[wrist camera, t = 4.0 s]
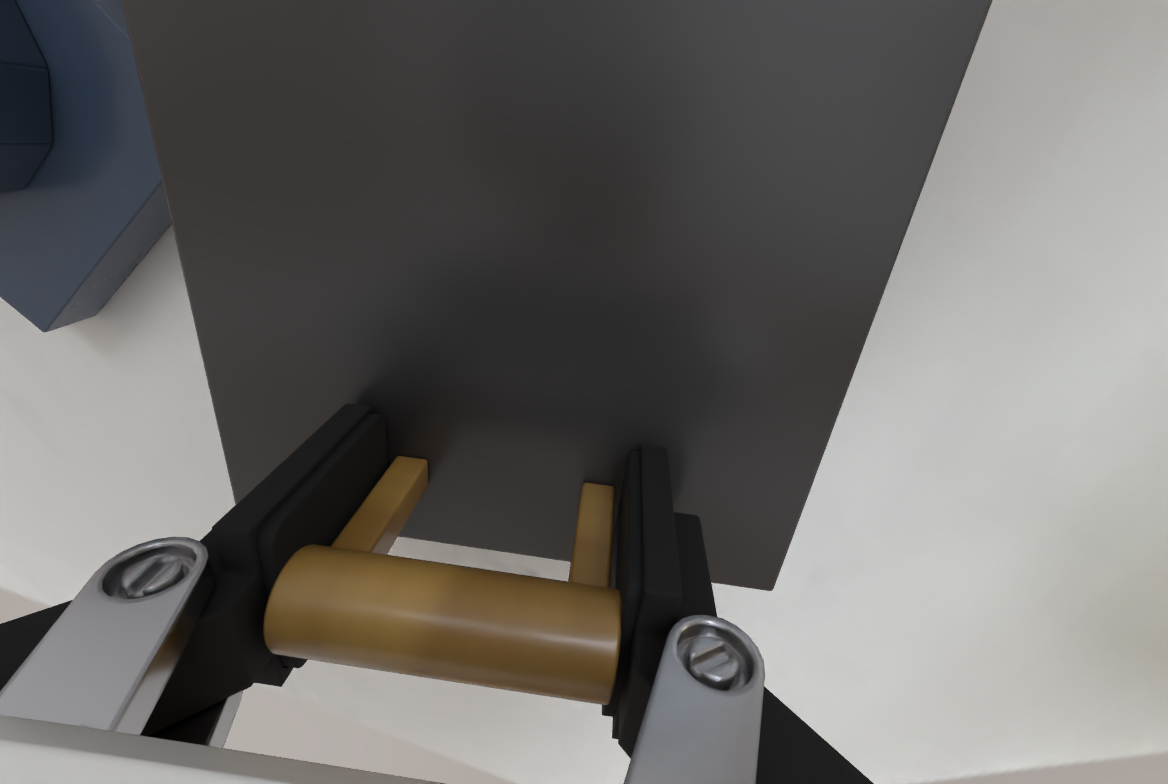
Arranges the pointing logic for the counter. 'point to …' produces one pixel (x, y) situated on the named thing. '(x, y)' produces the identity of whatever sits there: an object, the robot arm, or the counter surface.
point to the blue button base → (72, 159)
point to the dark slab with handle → (536, 281)
